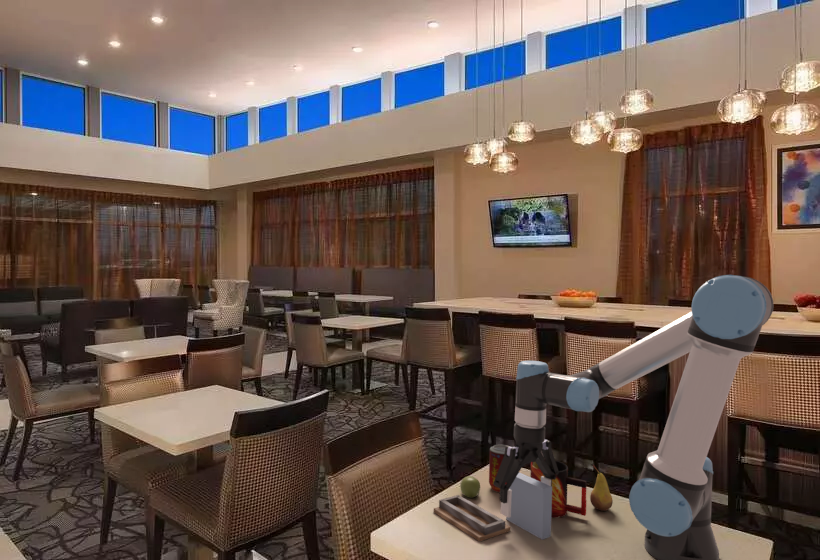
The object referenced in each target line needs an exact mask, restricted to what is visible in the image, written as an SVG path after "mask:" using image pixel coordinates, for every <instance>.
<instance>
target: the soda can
mask: <svg viewBox="0 0 820 560" xmlns="http://www.w3.org/2000/svg"><path fill="white" fill-rule="evenodd" d="M506 446H508V445H506V444H494V445H493V446H490V448H489V457H488V458H489V465H488V466H489V467H488V469H489V470H488V484H489V486H490V489H491V491H493V492H495V493H499V494H500V488H498V487H496V486H494V485H493V483H494V480H495V478H496V475H497V473H498V470H499V467H500V465H501V462H502V460H503V457H504V454H505V447H506ZM505 484H506V483H505Z"/></svg>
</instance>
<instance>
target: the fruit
mask: <svg viewBox="0 0 820 560" xmlns="http://www.w3.org/2000/svg"><path fill="white" fill-rule="evenodd" d="M591 466H592V467H593V468H594V469H595V471H596V472H597V477H596V480H595V484H594V487H593V489H592V490H591V492H590V495H589V496H590V497H589V498H590V501H589V502H590V503H591V505H592V506H593V508H595V509H596V510H599V511H602V512H603V511H604V512H605V511H608V510H610V508H611V507H612V506H613V503H614V502H613V501H614V500H613V496H612V494H611V493H610V488H609V485H608V481H607V479H606V477H605V475H604V474H603V473H602V472H599V470H598V469H597V467H596V466H595V464H594V463H592V464H591Z"/></svg>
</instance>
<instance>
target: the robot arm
mask: <svg viewBox="0 0 820 560" xmlns="http://www.w3.org/2000/svg"><path fill="white" fill-rule="evenodd" d="M773 298H774V297H773V295H772V293H771V292H770V290H769V289H768V287H767V286H766V285H764V284H763V283H762V282H761V281H759V280H757V279H755V278H752V277H750V276H743V275H734V274H724V275H718V276H715V277H713V278H711V279H709V280H707V281H705V283H703V284H702V285H701V286H700V287H699V288H698V289H697V291H695V294H694V296H693V298H692V302H691V311H689V312H688V313H686V314H684V315H683V316H681V317H679V318H677V319H674V320H673V321H671V322H669V323H668V324H666V325H664V326H662V327H661V328H659V329H658V330H656V331H654V332H652V333H650V334H648V335H646V336H645V337H642V338H641V339H639V340H637V341H636V342H634V343H632V344H630V345H629V346H627V347H625V348H623V349H622V350H619V351H618V352H615V353H614V354H613V355H611V356H609V357H606V358H605V359H604V360H601V361H600V362H598V363H596V364H594V365H592V366H591V367H588V368H587V369H584V370H582V371H580V372H577V373H574V374H573V373H572V374H570V375H569V374H568V375H566V374H560V373H553V372H550V369H549V365H548V364H547V363H546V362H543V361H539V360H522V361H519V363H518V364H517V370H516V377H515V381H516V382H515V384H516V385H515V405H514V406H515V408H514V411H515V412H514V421H515V423H514V425H513V438H514V440H515V446H509V445H507V446H506V447H505V454H504V457H503V460H502V462H501V465H500V467H499V470H498V473H497V475H496V478H495V480H494V483H493V485H494V486H496V487H498V488H500V493H499V502H500V511H499V512H500V514H501V515H502V516H503V517H505V518H506V517H508V518H509V517H511V498H512V490H511V489H509V488H510V487H511V485H512V483H513V482H514V480H515V478H516V476H517V475H518V473H519V472H520V471H521V470H522V468H523V467H525V466H526V465H527V464H531V462H536V464H537V465H538V467H539V468H540V470H541V472H542V473H543V475H544V476H545V477H544V476H541V482H542V483H545V484H547V485H549V486H551V487H552V479H553V480H555V479H556V475H558V473H559V471H558V468H557V465H556V462H555V461H556V459H555V455H554V453H553V450H552V441H550V440H548V439H546V427H545V426H546V424H547V405H551V406H555V407H559V408H564V409H568V410H573V411H575V412H583V413H584V412H585V413H592V412H593V411H594V410H596V407H597V406H598V403H599V400H600V399H602V398H604V397H606V396H608V395H609V394H611V393H612V392H614V391H616V390H619V389H620V388H622V387H624V386H625V385H627V384H629V383H632V382H634V381H637V380H638V379H640V378H641V377H643V376H645V375H647V374H651V372H654V371H656V370H657V369H659V368H661V367H663V366H665V365H668V364H669V363H672V362H673V361H676V360H677V359H679V358H681V357H683V356H685V355H687V354H688V356H687V360H686V362H685V365H684V367H683V372H682V375H681V378H680V381H679V383H678V387H677V391H676V393H675V396H674V399H673V402H672V405H671V408H670V411H669V414H668V417H667V420H666V422H665V423H666V424H665V427H664V428H663V429H664V430H663V432H662V435H661V438H660V442H659V445H658V447H657V450H654V451H652V452H649V453H648V454H647V456H646V458H645V460H644V463H643V467H642V471H641V473H640V476H639V479H638V480H637V481H636V482H635V483H633V485H632V486H631V489H630V492H629V495H628V502H629V508H630V509H631V512H632V514H633V515H634V518H635V519H636V520H637V522H638V523H639V524H640V525H641V526H643V527H644V528H645V529H646V531H645V534H644V548H645V550H646V552H648V554H650V555H651V556H652V557H654V558H655V559H657V560H720V550H719V548H718V544H717V541H716V537H715V535H714V534H715V533H714V531H713V529H712V503H713V501H712V500H713V499H712V498H713V495H712V494H713V475H714V471H713V470H714V469H713V462H712V460H711V458H709V457H708V454H709V450H710V448H711V445H712V442H713V439H714V436H715V433H716V431H717V427H718V425H719V421H720V420H721V416H722V414H723V410H724V408H725V405H726V402H727V399H728V396H729V393H730V390H731V387H732V385H733V382H734V379H735V376H736V373H737V371H738V367H739V364H740V362H741V360H742V358H745V357H747V356H749V355H752V354H753V353H754V350H755V347H756V344H757V341H758V340H759V335H760V333H761V331H762V328H763V326H764V325H765V324H766V323H767V322H768V321H769V320H770V318H771V316H772V314H773V312H774V299H773ZM544 459H545V460H544ZM505 483H506V484H505Z"/></svg>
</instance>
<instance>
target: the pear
mask: <svg viewBox="0 0 820 560" xmlns="http://www.w3.org/2000/svg"><path fill="white" fill-rule="evenodd" d="M480 490H481V482H480V481H479V479H478V478H476V477H475V476H472V475H468V476H465V477H463V478H462V479H461V481H460V491H461V493H462V495H463V496H465V497H466V498H470V499H471V498H475V497H477V496H478V495H479V493H480Z"/></svg>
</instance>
